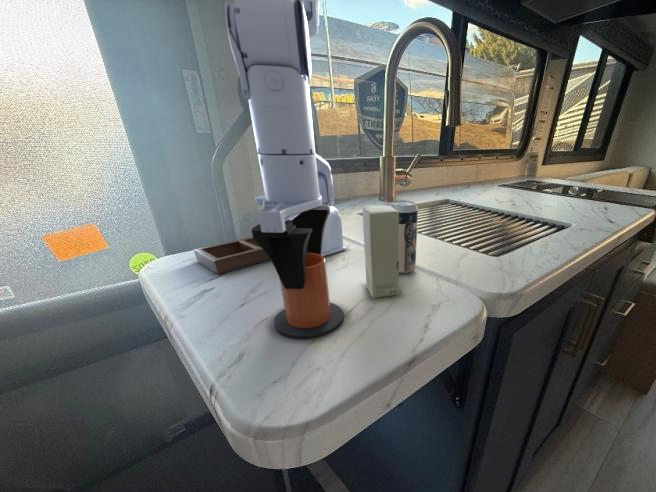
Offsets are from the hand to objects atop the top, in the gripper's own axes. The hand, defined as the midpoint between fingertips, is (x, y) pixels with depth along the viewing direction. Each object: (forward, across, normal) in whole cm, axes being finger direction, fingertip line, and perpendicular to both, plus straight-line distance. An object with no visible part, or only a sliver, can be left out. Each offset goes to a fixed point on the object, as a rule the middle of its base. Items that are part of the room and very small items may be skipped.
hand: (303, 274), depth 39 cm
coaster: (+7, 0, 0) cm, 7 cm away
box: (+7, -9, +9) cm, 15 cm away
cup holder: (+7, -24, -18) cm, 31 cm away
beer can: (+7, -18, +12) cm, 23 cm away
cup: (+6, 0, 0) cm, 6 cm away
